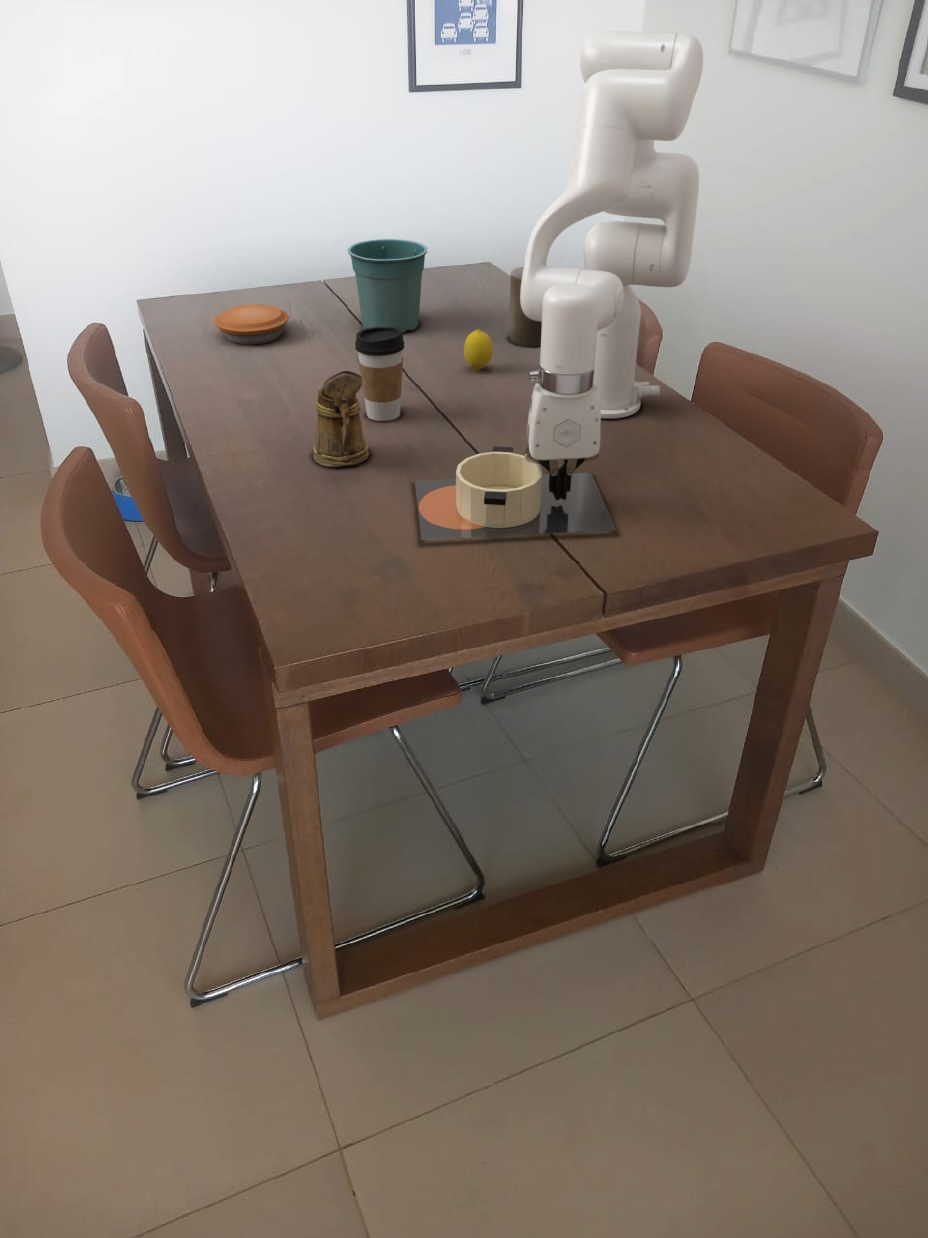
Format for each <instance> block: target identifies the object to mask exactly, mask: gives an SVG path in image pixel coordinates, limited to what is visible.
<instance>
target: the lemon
mask: <svg viewBox="0 0 928 1238" xmlns="http://www.w3.org/2000/svg"><path fill="white" fill-rule="evenodd" d="M493 353H494V349H493V343H492V339H491V337H490V336H489V335H488V334H487V332H485V331H482V330H481V329H476V330H474V331H472V332H471V333H470V334H468V335H467V337H466V339H465V342H464V345H463V355H464V358H465V361H466V363H467V364H468V365H469V366H470V367H472V368H474V369H475V370H476V371H480V370H481V369H482V368H484V367H486V366H487V365H489V363H490V362H491V360H492V358H493Z"/></svg>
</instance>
